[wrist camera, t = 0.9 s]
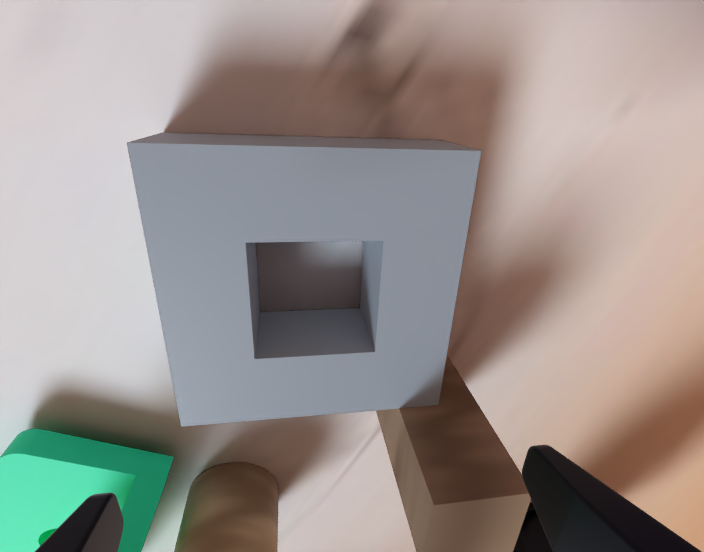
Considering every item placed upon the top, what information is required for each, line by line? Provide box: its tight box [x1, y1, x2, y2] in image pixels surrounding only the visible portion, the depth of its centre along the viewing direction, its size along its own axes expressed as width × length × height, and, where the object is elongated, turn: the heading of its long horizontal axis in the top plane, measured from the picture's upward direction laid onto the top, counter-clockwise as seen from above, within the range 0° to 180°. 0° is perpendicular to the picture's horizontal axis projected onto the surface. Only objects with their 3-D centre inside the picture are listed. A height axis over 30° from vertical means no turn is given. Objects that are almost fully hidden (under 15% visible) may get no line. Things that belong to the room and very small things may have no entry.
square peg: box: [376, 356, 531, 552], centre depth 20 cm, size 4×4×9 cm
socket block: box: [127, 133, 481, 427], centre depth 17 cm, size 12×12×4 cm
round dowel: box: [174, 462, 278, 552], centre depth 22 cm, size 6×6×6 cm
